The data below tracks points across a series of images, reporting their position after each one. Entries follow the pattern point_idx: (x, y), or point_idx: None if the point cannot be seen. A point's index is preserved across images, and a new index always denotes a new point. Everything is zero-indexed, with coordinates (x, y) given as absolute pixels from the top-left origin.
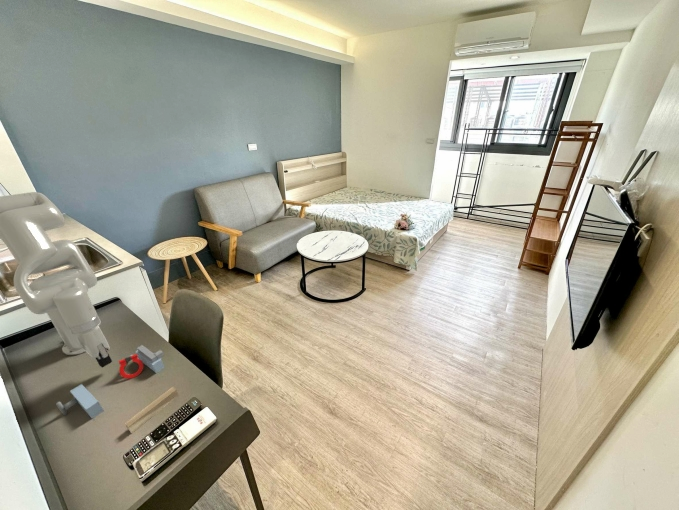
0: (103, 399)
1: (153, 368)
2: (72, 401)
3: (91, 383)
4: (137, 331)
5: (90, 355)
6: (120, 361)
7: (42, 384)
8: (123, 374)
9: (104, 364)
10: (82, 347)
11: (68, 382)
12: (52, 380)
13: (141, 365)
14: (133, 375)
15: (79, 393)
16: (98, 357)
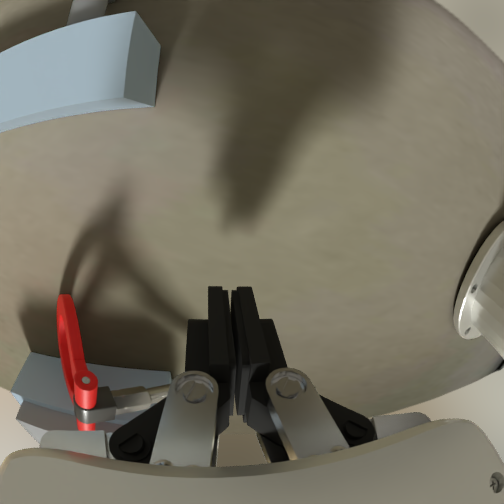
0: (27, 156)
1: (27, 373)
2: (70, 21)
3: (223, 157)
4: (362, 406)
5: (106, 491)
6: (76, 390)
7: (460, 64)
8: (61, 309)
9: (188, 322)
10: (459, 457)
11: (377, 100)
12: (452, 91)
13: (64, 374)
14: (58, 318)
15: (33, 65)
16: (165, 412)
